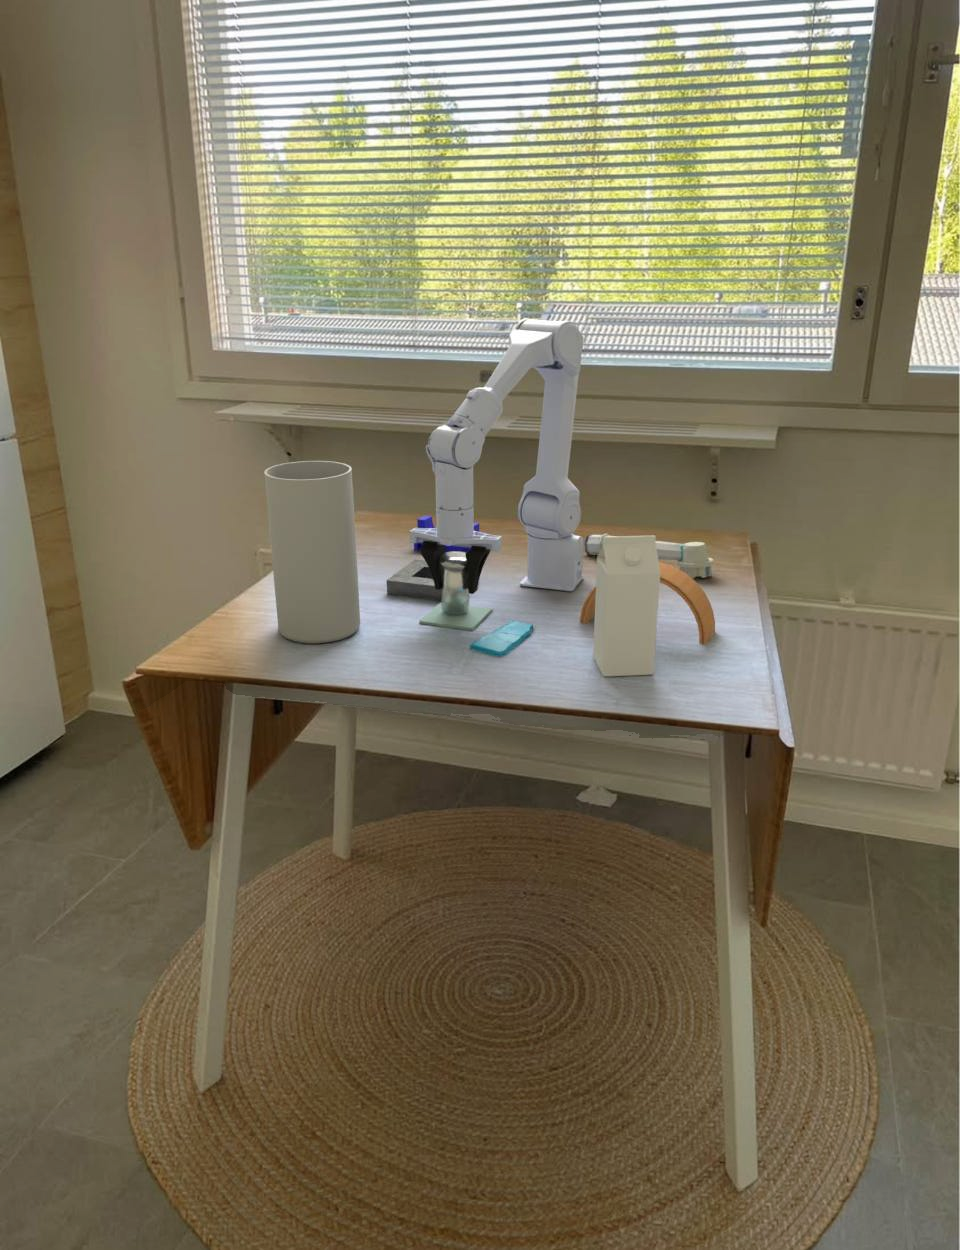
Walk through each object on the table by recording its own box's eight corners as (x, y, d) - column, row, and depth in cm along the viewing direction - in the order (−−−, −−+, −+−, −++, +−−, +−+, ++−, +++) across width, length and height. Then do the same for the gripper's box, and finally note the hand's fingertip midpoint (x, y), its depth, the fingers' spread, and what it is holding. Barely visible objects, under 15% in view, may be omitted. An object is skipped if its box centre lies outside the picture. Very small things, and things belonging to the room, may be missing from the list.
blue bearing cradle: (414, 551, 187) (413, 521, 185) (426, 545, 191) (425, 515, 189) (468, 559, 182) (467, 529, 180) (479, 553, 185) (479, 523, 183)
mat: (492, 610, 156) (492, 608, 156) (473, 630, 148) (473, 628, 148) (441, 604, 159) (440, 601, 159) (419, 623, 151) (419, 620, 151)
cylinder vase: (377, 629, 149) (369, 469, 140) (310, 652, 141) (297, 484, 131) (327, 609, 157) (317, 457, 148) (262, 630, 149) (247, 470, 140)
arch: (593, 611, 156) (595, 552, 152) (715, 632, 147) (721, 570, 144) (579, 623, 151) (581, 562, 148) (704, 645, 143) (710, 582, 139)
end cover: (476, 604, 156) (478, 554, 152) (466, 618, 151) (467, 567, 147) (444, 599, 157) (445, 549, 153) (433, 613, 153) (434, 562, 148)
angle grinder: (595, 530, 185) (717, 535, 170) (598, 564, 187) (718, 572, 172) (581, 537, 182) (704, 542, 166) (584, 571, 184) (705, 579, 168)
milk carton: (592, 656, 139) (598, 529, 132) (641, 655, 139) (649, 528, 132) (602, 677, 132) (608, 545, 125) (653, 675, 133) (662, 543, 126)
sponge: (545, 628, 147) (513, 616, 150) (501, 654, 138) (468, 640, 141) (544, 636, 148) (512, 624, 151) (500, 663, 139) (467, 650, 142)
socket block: (477, 579, 170) (477, 566, 169) (452, 602, 160) (452, 588, 159) (415, 572, 174) (414, 559, 173) (387, 594, 164) (386, 580, 163)
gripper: (400, 508, 146) (403, 592, 151) (490, 516, 141) (491, 603, 146) (419, 497, 152) (421, 578, 157) (506, 504, 147) (505, 588, 152)
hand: (456, 589), depth 152 cm, fingers closed on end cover, 5 cm apart
